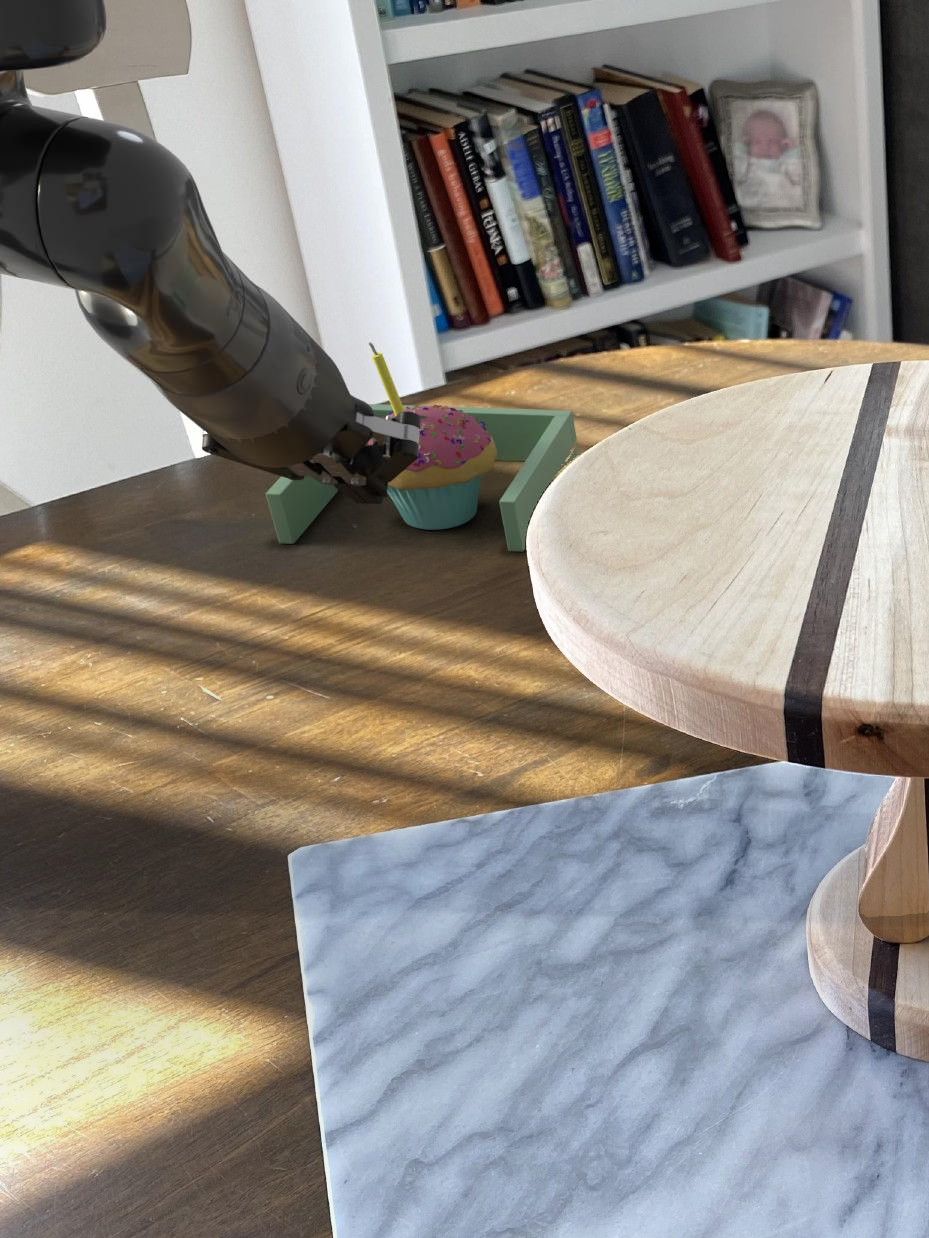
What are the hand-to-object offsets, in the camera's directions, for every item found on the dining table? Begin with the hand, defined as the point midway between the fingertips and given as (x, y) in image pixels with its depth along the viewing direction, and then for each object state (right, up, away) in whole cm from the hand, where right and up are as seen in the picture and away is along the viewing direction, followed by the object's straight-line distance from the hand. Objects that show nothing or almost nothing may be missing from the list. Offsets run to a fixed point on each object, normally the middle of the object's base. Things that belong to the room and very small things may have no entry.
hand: (371, 488), depth 105 cm
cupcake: (+1, 0, +8) cm, 9 cm away
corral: (0, +2, +10) cm, 10 cm away
